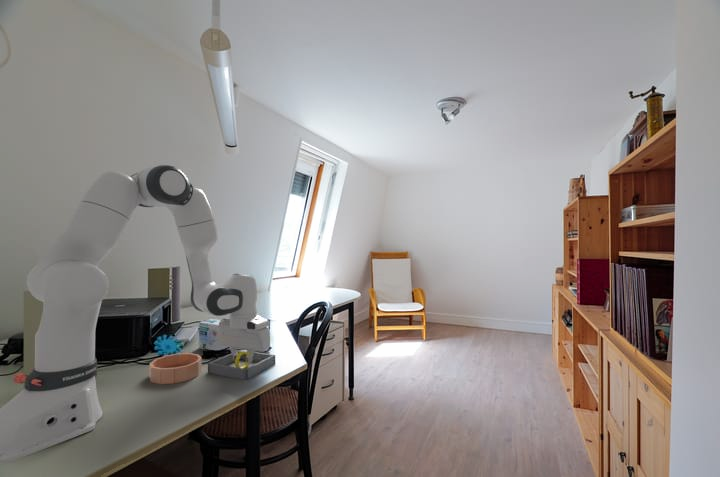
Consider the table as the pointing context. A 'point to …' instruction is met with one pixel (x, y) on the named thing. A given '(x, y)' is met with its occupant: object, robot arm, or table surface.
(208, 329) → the light bulb box
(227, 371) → the parts tray
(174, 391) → the table surface
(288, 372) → the table surface
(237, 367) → the watch
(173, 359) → the bowl
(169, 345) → the gear
